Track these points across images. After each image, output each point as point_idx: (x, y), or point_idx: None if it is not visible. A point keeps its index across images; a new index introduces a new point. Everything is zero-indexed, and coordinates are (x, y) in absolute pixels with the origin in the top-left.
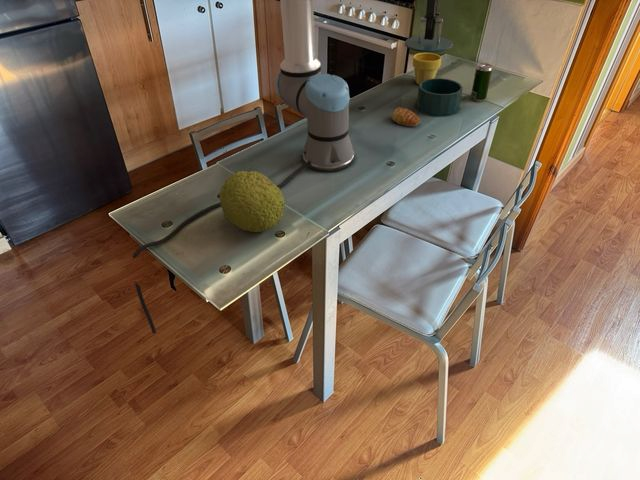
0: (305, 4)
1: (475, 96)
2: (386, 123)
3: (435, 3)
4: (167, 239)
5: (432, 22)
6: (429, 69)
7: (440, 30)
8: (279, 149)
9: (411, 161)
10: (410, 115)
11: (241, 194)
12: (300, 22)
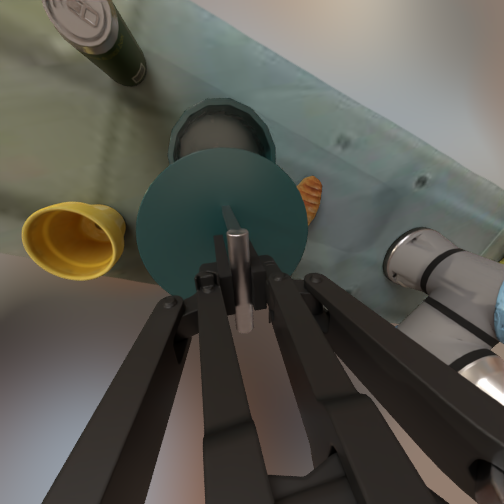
0: None
1: (144, 67)
2: (311, 227)
3: (367, 329)
4: None
5: (268, 269)
6: (114, 221)
7: (235, 219)
8: (391, 305)
9: (416, 154)
10: (313, 195)
11: None
12: None
